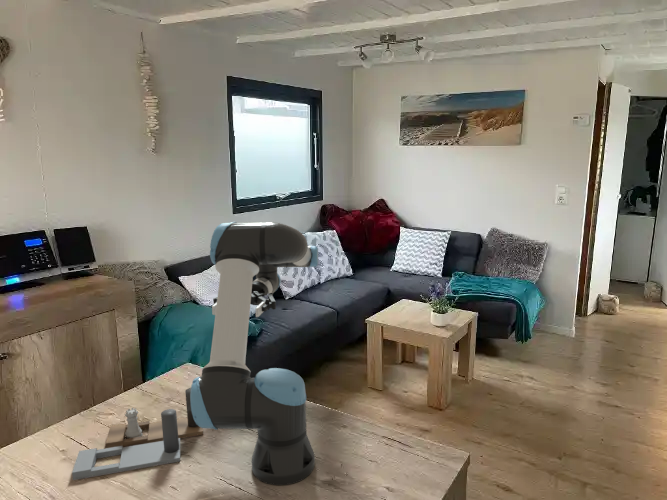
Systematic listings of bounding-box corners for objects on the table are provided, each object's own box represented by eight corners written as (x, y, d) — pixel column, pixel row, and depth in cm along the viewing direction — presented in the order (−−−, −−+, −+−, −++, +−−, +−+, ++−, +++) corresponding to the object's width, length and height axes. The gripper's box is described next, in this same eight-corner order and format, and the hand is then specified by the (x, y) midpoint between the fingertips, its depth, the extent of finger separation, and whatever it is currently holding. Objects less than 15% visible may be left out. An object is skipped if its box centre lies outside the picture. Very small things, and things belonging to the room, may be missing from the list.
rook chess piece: (145, 433, 138) (143, 406, 136) (138, 442, 133) (135, 414, 132) (129, 432, 138) (127, 405, 136) (121, 442, 134) (119, 414, 132)
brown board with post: (203, 434, 136) (200, 396, 134) (106, 450, 130) (101, 411, 127) (201, 417, 145) (199, 382, 143) (111, 432, 138) (106, 394, 136)
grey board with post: (180, 461, 125) (176, 420, 123) (72, 480, 118) (67, 437, 116) (180, 441, 133) (177, 402, 131) (80, 458, 127) (75, 417, 124)
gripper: (294, 303, 169) (275, 325, 149) (223, 300, 174) (196, 321, 154) (293, 282, 168) (274, 301, 147) (222, 279, 172) (194, 297, 152)
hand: (234, 311), depth 150 cm, fingers open, 13 cm apart
